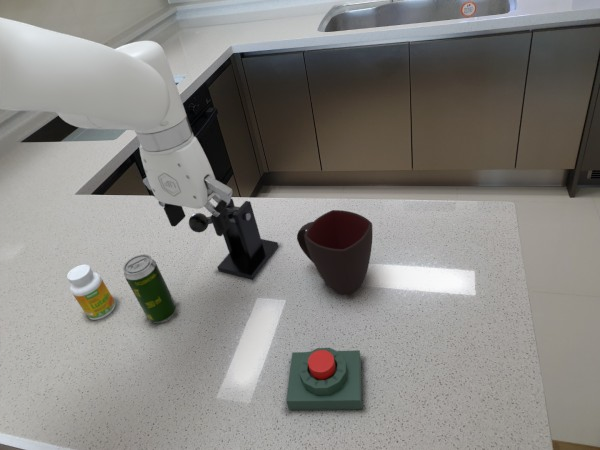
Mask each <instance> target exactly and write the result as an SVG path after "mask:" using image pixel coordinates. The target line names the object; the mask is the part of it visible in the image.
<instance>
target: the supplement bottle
mask: <svg viewBox="0 0 600 450" xmlns="http://www.w3.org/2000/svg"><path fill="white" fill-rule="evenodd" d="M66 277H67V280H68V281H69V283H70V287H69V289H70V292H71V294H72V296H73V297H74V299H75V300H76V302H77V303H78V305H79V306H80V308H81V309H82V311H83V312H84V314H85V316H86V317H87V318H88V319H90V320H92V321H93V320H101V319H104V318H106V317H107V316H109V315H110V314H111V313H113V311H114V309H116V308H115V307H116V301H115V299H114V297H113V295H112V293H111V292H110V290H109V289H108V287H107V285H106V283H105V281H104V280H103V278H102V276H101V275H100V274H99V273H98V272H95V271H93V269H92V268H91V267H90V265H88V264H80V265H77V266H74V267H73V268H72V269H71V270H69V272H68V273H67V276H66Z"/></svg>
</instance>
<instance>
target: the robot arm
mask: <svg viewBox="0 0 600 450" xmlns="http://www.w3.org/2000/svg"><path fill="white" fill-rule="evenodd" d="M180 95H181V94H180V92H179V89H178V86H177V84H176V80H175V78H174V74H173V71H172V69H171V66H170V63H169V61H168V57H167V55H166V52H165V50H164V48H163V47H162V45H160V43H158V42H156V41H154V40H139V41H134V42H130V43H127V44H124V45H121V46H119V47H117V48H113V47H110V46H108V45H105V44H102V43H99V42H96V41H92V40H90V39H86V38H82V37H78V36H76V35H75V36H74V35H72V34H67V33H63V32H58V31H55V30H51V29H47V28H44V27H39V26H37V25H32V24H29V23H26V22H22V21H19V20H13V19H10V18H5V17H1V16H0V111H1V110H2V111H14V112H15V111H17V112H48V113H56V115H57V116H59V118H60V119H61V120H62V121H64V122H65V123H67V124H69V125H70V126H74V127H76V128H80V129H85V130H86V129H88V130H107V131H108V130H121V131H134V132H135V135H136V137H137V140H138V141H139V144H140V145H139V147H138V148H139V155H140V158H141V163H142V166H143V167H142V168H143V170H144V173H145V178H143V179H142V183H143V184H144V185H145V186H146V188H147V189H148V190H149V191H150V194H151V195H152V196H153V197H154V198H155V199H156V200H157V201H158V202H157V203H158V205H159V206H160V207H162V208H163V210H164V213H165V215H166V217H167V219H168V222H169V224H170V226H171V227H176V226H178V224H180V223H181V222H182V221H183V220H184V219H185V218H186V213H185V211H184V209H183V207H184V208H189V209H199V210H200V209H203V208H205V209H206V210H207V211H208V212H209V213H210V214H211V215H210V216H211V220H212V226H213V228H214V231H215V234H216V236H217V237H222V236H223V234H224V233H225V232H226V230H227V229H228V228H229V227H230V226H231V223H230V220H229V217H228V214H227V211H226V207H227V206H228V205H229V203H230V202H231V199H232V197H233V189H232V188H231V187H229V186H228V185H226V184H224V183H223V182H221V181H220V180H217V179H216V176H215V174H214V171H213V169H212V166H211V164H210V162H209V159H208V157H207V155H206V153H205V151H204V148H203V147H202V145H201V143H200V142H199V140H198V138H197V137H196V136H195V135H194V132H193V128H192V127H191V123H190V120H189V118H188V115H187V113H186V109H185V106H184V104H183V101H182V97H181V96H180ZM212 199H213V200H214V201H215V202H216V203H217V204H216V206H215V205H213V203H212V202H211V201H210V200H212Z"/></svg>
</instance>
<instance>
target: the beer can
mask: <svg viewBox="0 0 600 450" xmlns="http://www.w3.org/2000/svg"><path fill="white" fill-rule="evenodd" d="M122 271H123V276H124V278H125V280H126V282H127V284H128V286H129V287H130V289H131V292H132V294H133V295H134V297H135V299H136V301H137V302H138V304H139V305H140V307H141V309H142V311H143V313H144V315H145V317H146V318H147V320H148V321H149V322H151V323H154V324H163V323H166V322H168V321H169V320H171V319H172V318H174V316H175V313H176V310H177V303H176V301H175V300H174V298H173V296H172V294H171V291H170V289H169V288H168V285H167V283H166V281H165V279H164V277H163V275H162V273H161V270H160V269H159V266H158V264H157V262H156V261H155V259H154V258H153V257H152V255H149V254H146V253H144V254H139V255H135V256H133V257H131V258H130V259H128V260H127V261H126V262H125V263H124V265H123V267H122Z"/></svg>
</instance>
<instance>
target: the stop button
mask: <svg viewBox="0 0 600 450" xmlns="http://www.w3.org/2000/svg"><path fill="white" fill-rule="evenodd" d="M308 366H309V370H310V373H311V375H312V376H313V377H314V378H316V379H320V380H324V379H327V378H329V377H331V376H332V375H333V374H334V372H335V369H336V366H335V361H334V357H333V355H332V354H331V353H330V352H328V351H325V350H319V351H316V352H314V353H312V354H311V355H310V357H309V359H308Z"/></svg>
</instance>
